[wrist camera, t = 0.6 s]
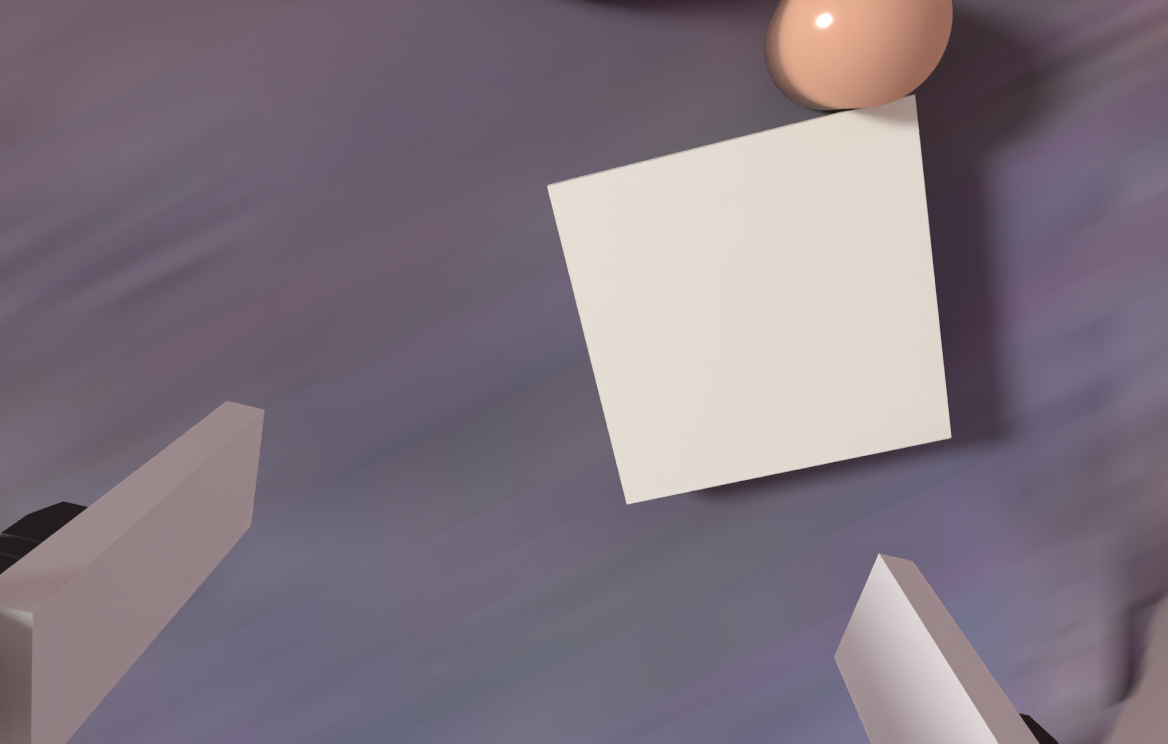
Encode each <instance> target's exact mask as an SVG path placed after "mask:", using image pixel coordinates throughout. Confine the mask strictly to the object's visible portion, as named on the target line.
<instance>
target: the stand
mask: <svg viewBox="0 0 1168 744" xmlns="http://www.w3.org/2000/svg"><path fill="white" fill-rule="evenodd" d="M547 187H548V191H549V195H550V199H551V203H552V207H553V211H554V215H555V219H556V223H557V227H558V231H559V235H560V239H561V243H562V247H563V251H564V255H565V259H566V263H567V267H568V271H569V275H570V279H571V283H572V287H573V291H574V295H575V299H576V303H577V307H578V311H579V315H580V319H581V323H582V327H583V331H584V335H585V339H586V343H587V347H588V351H589V355H590V359H591V363H592V367H593V371H594V375H595V379H596V383H597V387H598V391H599V395H600V399H601V403H602V407H603V411H604V415H605V419H606V423H607V427H608V431H609V435H610V439H611V443H612V447H613V451H614V455H615V459H616V463H617V467H618V471H619V475H620V479H621V483H622V487H623V491H624V495H625V499H626V503H627V504H631V503H635V502H640V501H645V500H650V499H655V498H660V497H665V496H670V495H675V494H679V493H684V492H689V491H694V490H699V489H704V488H709V487H714V486H719V485H723V484H728V483H733V482H738V481H743V480H748V479H753V478H758V477H763V476H767V475H772V474H777V473H782V472H787V471H792V470H797V469H802V468H807V467H811V466H816V465H821V464H826V463H831V462H836V461H841V460H846V459H851V458H855V457H860V456H865V455H870V454H875V453H880V452H885V451H890V450H895V449H900V448H904V447H909V446H914V445H919V444H924V443H929V442H934V441H939V440H944V439H948V438H951V429H950V420H949V411H948V401H947V392H946V382H945V373H944V363H943V354H942V344H941V335H940V326H939V316H938V307H937V297H936V288H935V278H934V269H933V260H932V250H931V241H930V231H929V222H928V212H927V203H926V194H925V184H924V175H923V165H922V156H921V146H920V137H919V127H918V118H917V109H916V99H915V95H907V96H904V97H903V98H900V99H898V100H896V101H894V102H891V103H888V104H885V105H881V106H875V107H866V108H854V109H850V110H846V111H842V112H838V113H834V114H830V115H826V116H822V117H818V118H814V119H810V120H806V121H802V122H798V123H794V124H790V125H786V126H782V127H778V128H774V129H770V130H766V131H762V132H758V133H754V134H750V135H746V136H742V137H738V138H734V139H730V140H726V141H722V142H718V143H714V144H710V145H706V146H702V147H698V148H694V149H690V150H686V151H682V152H678V153H674V154H670V155H666V156H662V157H657V158H653V159H649V160H645V161H641V162H637V163H633V164H629V165H625V166H621V167H617V168H613V169H609V170H605V171H601V172H597V173H593V174H589V175H585V176H581V177H577V178H573V179H569V180H565V181H561V182H557V183H553V184H549V185H548V186H547Z"/></svg>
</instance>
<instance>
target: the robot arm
mask: <svg viewBox="0 0 1168 744" xmlns="http://www.w3.org/2000/svg"><path fill="white" fill-rule="evenodd" d="M264 411H265V410H264V409H259V408H255V407H251V406H246V405H242V404H238V403H234V402H229V401H226V402H225V403H224V404H222V405H221V406H220V407H218V408H217V409H216V410H215V411H213V412H212V413H211V414H209V415H208V416H207V417H205V418H204V419H203V420H202V421H200V422H199V423H198V424H196V425H195V426H194V427H192V428H191V429H190V430H188V431H187V432H186V433H185V434H183V435H182V436H181V437H179V438H178V439H177V440H175V441H174V442H173V443H172V444H170V445H169V446H168V447H166V448H165V449H164V450H162V451H161V452H160V453H158V454H157V455H156V456H155V457H153V458H152V459H151V460H149V461H148V462H147V463H145V464H144V465H143V466H141V467H140V468H139V469H138V470H136V471H135V472H134V473H132V474H131V475H130V476H128V477H127V478H126V479H125V480H123V481H122V482H121V483H119V484H118V485H117V486H115V487H114V488H113V489H111V490H110V491H109V492H108V493H106V494H105V495H104V496H102V497H101V498H100V499H98V500H97V501H96V502H95V503H93V504H92V505H91V506H89V507H85V506H81V505H76V504H72V503H67V502H61V503H58V504H55V505H52V506H50V507H47V508H44V509H41V510H39V511H36V512H33V513H30V514H28V515H26V516H25V517H23V518H22V519H21V520H19V521H18V522H16V523H15V524H13V525H12V526H11V527H9V528H8V529H6V530H5V531H3V532H2V533H1V536H0V744H65V743H66V742H67V741H68V740H69V739H70V737H71V736H72V735H73V734H74V733H75V732H76V730H77V729H78V728H79V727H80V726H81V725H82V723H83V722H84V721H85V720H86V719H87V717H88V716H89V715H90V714H91V713H92V712H93V710H94V709H95V708H96V707H97V706H98V705H99V703H100V702H101V701H102V700H103V699H104V698H105V696H106V695H107V694H108V693H109V692H110V690H111V689H112V688H113V687H114V686H115V685H116V683H117V682H118V681H119V680H120V679H121V678H122V676H123V675H124V674H125V673H126V672H127V671H128V669H129V668H130V667H131V666H132V665H133V663H134V662H135V661H136V660H137V659H138V658H139V656H140V655H141V654H142V653H143V652H144V651H145V649H146V648H147V647H148V646H149V645H150V644H151V642H152V641H153V640H154V639H155V638H156V637H157V635H158V634H159V633H160V632H161V631H162V629H163V628H164V627H165V626H166V625H167V624H168V622H169V621H170V620H171V619H172V618H173V617H174V615H175V614H176V613H177V612H178V611H179V610H180V608H181V607H182V606H183V605H184V604H185V602H186V601H187V600H188V599H189V598H190V597H191V595H192V594H193V593H194V592H195V591H196V590H197V588H198V587H199V586H200V585H201V584H202V583H203V581H204V580H205V579H206V578H207V577H208V575H209V574H210V573H211V572H212V571H213V570H214V568H215V567H216V566H217V565H218V564H219V563H220V561H221V560H222V559H223V558H224V557H225V556H226V554H227V553H228V552H229V551H230V550H231V548H232V547H233V546H234V545H235V544H236V543H237V541H238V540H239V539H240V538H241V537H242V536H243V534H244V533H245V532H246V531H247V530H248V529H249V527H250V526H251V520H252V512H253V503H254V495H255V487H256V478H257V470H258V462H259V453H260V445H261V437H262V428H263V420H264ZM834 658H835V660H836V663H837V665H838V667H839V670H840V672H841V674H842V677H843V679H844V681H845V684H846V686H847V688H848V691H849V693H850V695H851V698H852V700H853V702H854V705H855V707H856V710H857V712H858V714H859V717H860V719H861V721H862V724H863V726H864V728H865V731H866V733H867V735H868V738H869V740H870V742H871V744H1058V742H1057V741H1056V740H1055V739H1054V738H1053V737H1052V736H1051V735H1050V734H1048V733H1047V732H1046V731H1045V730H1044V729H1043V728H1042V727H1041V726H1040V725H1039V724H1038V723H1037V722H1035V721H1034V720H1033V719H1032V718H1031V717H1030V716H1029V715H1024V714H1020V713H1018V712H1017V711H1016V709H1015V708H1014V706H1013V705H1012V703H1011V702H1010V701H1009V699H1008V698H1007V696H1006V695H1005V693H1004V692H1003V690H1002V689H1001V688H1000V686H999V685H998V683H997V682H996V680H995V679H994V677H993V676H992V675H991V673H990V672H989V670H988V669H987V667H986V666H985V664H984V663H983V662H982V660H981V659H980V657H979V656H978V654H977V653H976V651H975V650H974V649H973V647H972V646H971V644H970V643H969V641H968V640H967V638H966V637H965V636H964V634H963V633H962V631H961V630H960V628H959V627H958V626H957V624H956V623H955V621H954V620H953V618H952V617H951V615H950V614H949V613H948V611H947V610H946V608H945V607H944V605H943V604H942V602H941V601H940V600H939V598H938V597H937V595H936V594H935V592H934V591H933V589H932V588H931V587H930V585H929V584H928V582H927V581H926V579H925V578H924V576H923V575H922V574H921V572H920V571H919V569H918V568H917V566H916V565H915V563H914V562H913V561H909V560H905V559H901V558H896V557H892V556H888V555H883V554H879V555H878V557H877V559H876V561H875V564H874V566H873V568H872V571H871V573H870V575H869V578H868V580H867V582H866V585H865V587H864V589H863V592H862V594H861V596H860V598H859V601H858V603H857V605H856V608H855V610H854V612H853V615H852V617H851V619H850V622H849V624H848V626H847V629H846V631H845V633H844V635H843V638H842V640H841V642H840V645H839V647H838V649H837V652H836V654H835V656H834Z"/></svg>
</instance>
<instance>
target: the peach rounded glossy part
mask: <svg viewBox="0 0 1168 744" xmlns="http://www.w3.org/2000/svg"><path fill="white" fill-rule="evenodd" d="M952 18H953V10H952V0H780V2H779V3H778V4H777V6H776V8H775V10H774V11H773V13H772V16H771V18H770V21H769V24H768V27H767V31H766V37H765V58H766V63H767V67H768V70H769V73H770V75H771V77H772V79H773V81H774V83H775V84H776V86H777V87H778V89H779V90H780V91H781V92H782V93H783V94H784V95H785V96H786V97H787V98H789V99H790V100H791V101H793V102H794V103H796V104H798V105H800V106H803V107H805V108H809V109H813V110H822V111H824V110H840V109H853V108H866V107H875V106H881V105H885V104H888V103H891V102H894V101H896V100H898V99H900V98H903V97H904V96H906V95H907V94H909V93H911V92H912V91H913V90H915V89H916V88H917V87H918V86H920V85H921V84H922V83H923V82H924V81H925V80H926V79H927V78H928V76H929V75H930V74H931V73H932V71H933V70H934V69H935V67H936V66H937V64H938V63H939V61H940V59H941V57H942V55H943V53H944V51H945V49H946V46H947V43H948V40H949V37H950V32H951V28H952Z"/></svg>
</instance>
